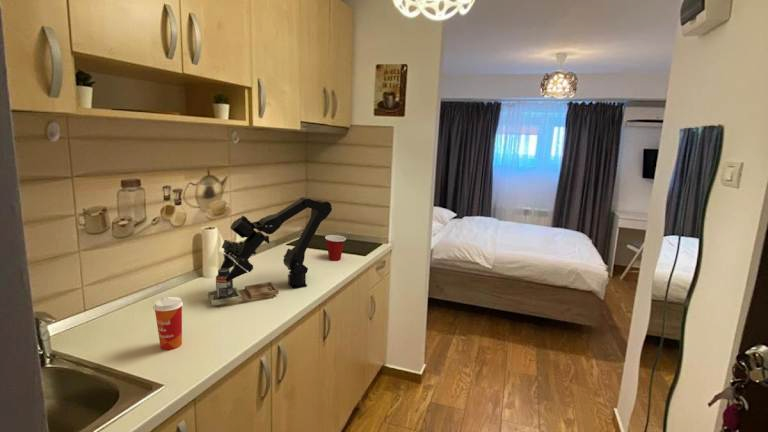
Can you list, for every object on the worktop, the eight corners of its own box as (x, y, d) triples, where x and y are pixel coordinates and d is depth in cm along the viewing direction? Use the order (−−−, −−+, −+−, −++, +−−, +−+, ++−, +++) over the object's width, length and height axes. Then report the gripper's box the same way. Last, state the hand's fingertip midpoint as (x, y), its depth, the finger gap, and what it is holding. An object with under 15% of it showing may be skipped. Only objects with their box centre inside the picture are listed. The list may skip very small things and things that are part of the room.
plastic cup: (341, 263, 204) (341, 240, 201) (321, 261, 206) (321, 238, 204) (348, 257, 214) (349, 235, 212) (329, 255, 217) (329, 233, 214)
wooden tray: (270, 287, 169) (270, 281, 169) (279, 297, 159) (279, 291, 159) (207, 297, 156) (206, 291, 156) (212, 308, 146) (211, 302, 146)
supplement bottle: (221, 294, 157) (220, 266, 155) (236, 295, 157) (235, 267, 154) (213, 300, 151) (212, 271, 149) (228, 301, 151) (227, 272, 149)
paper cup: (151, 346, 119) (147, 302, 117) (176, 336, 126) (173, 294, 123) (165, 355, 115) (162, 309, 112) (191, 344, 121) (188, 300, 119)
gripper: (227, 227, 159) (199, 258, 155) (243, 237, 145) (212, 272, 140) (248, 244, 166) (221, 274, 161) (265, 255, 151) (236, 289, 147)
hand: (222, 277), depth 152 cm, fingers open, 9 cm apart
